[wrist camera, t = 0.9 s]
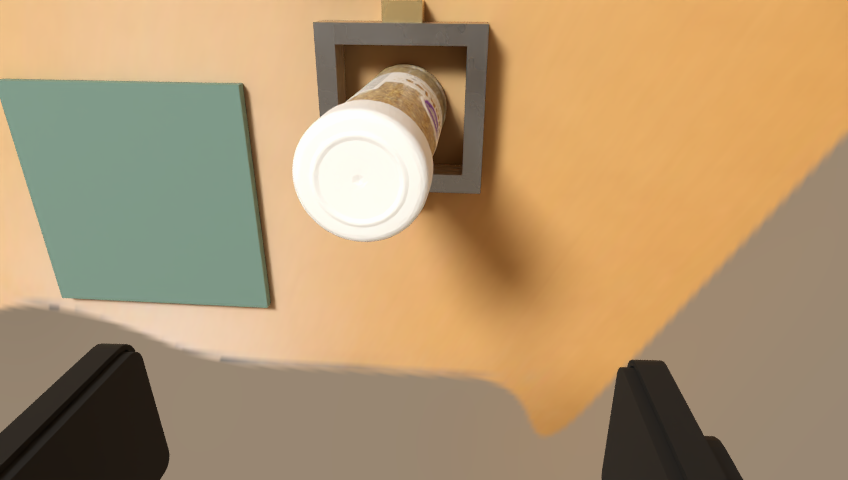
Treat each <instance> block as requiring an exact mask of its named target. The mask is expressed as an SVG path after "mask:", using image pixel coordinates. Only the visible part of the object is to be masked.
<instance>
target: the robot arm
mask: <svg viewBox="0 0 848 480" xmlns="http://www.w3.org/2000/svg"><path fill="white" fill-rule="evenodd" d="M168 463H169V450H168V446H167V443H166V439H165V436H164V432H163V428H162V425H161V421H160V418H159V414H158V411H157V407H156V404H155V401H154V397H153V393H152V390H151V386H150V383H149V379H148V376H147V372H146V369H145V365H144V361H143V358H142V356H141V354H140V353H138V352H135V350H134V348H133V347H132V346H130V345H127V344H98V345H96V346H95V347H93V348H92V349H91V350H90V351H89V352H88V353H87V354H86V355H84V357H82V358H81V359H80V360H79V361H78V362H77V363H76V364H75V365H74V366H73V367H72V368H70V369H69V370H68V371H67V372H66V373H65V374H64V375H63V376H62V377H61V378H60V379H58V380H57V381H56V382H55V383H54V384H53V385H52V386H51V387H50V388H49V389H48V390H47V391H46V392H44V393H43V394H42V395H41V396H40V397H39V398H38V399H37V400H36V401H35V402H34V403H33V404H31V405H30V406H29V407H28V408H27V409H26V410H25V411H24V412H23V413H22V414H21V415H19V416H18V417H17V418H16V419H15V420H14V421H13V422H12V423H11V424H10V425H9V426H8V427H6V429H4V430H3V431H2V432H1V433H0V480H160V479H161V477H162V476H163V474H164V473H165V471H166V469H167V466H168ZM602 480H743V479H742V477H741V476H740V473H739V472H738V470H737V468H736V466H735V465H734V463H733V461H732V459H731V458H730V456H729V454H728V452H727V450H726V449H725V447H724V446H723V444H722V443H721V441H720V440H719V439H717V438H716V437H713V436H704V435H703V433H702V431H701V429H700V428H699V426H698V424H697V422H696V420H695V418H694V416H693V414H692V413H691V411H690V409H689V407H688V405H687V403H686V401H685V399H684V398H683V396H682V394H681V392H680V390H679V388H678V386H677V384H676V382H675V381H674V379H673V377H672V375H671V374H670V371H669V369H668V368H667V366H666V364H665V363H664V362H663V361H656V360H630V361H629V363H628V366H627V367H620V368H619V369H618V372H617V378H616V384H615V391H614V397H613V404H612V410H611V416H610V424H609V429H608V436H607V443H606V449H605V456H604V462H603V468H602Z"/></svg>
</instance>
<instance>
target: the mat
mask: <svg viewBox="0 0 848 480" xmlns="http://www.w3.org/2000/svg"><path fill="white" fill-rule="evenodd" d="M0 99H1V103H2V106H3V109H4V112H5V115H6V119H7V122H8V125H9V128H10V132H11V135H12V138H13V141H14V144H15V148H16V151H17V154H18V157H19V160H20V164H21V167H22V170H23V173H24V177H25V180H26V183H27V186H28V189H29V193H30V196H31V199H32V202H33V205H34V209H35V212H36V215H37V218H38V222H39V225H40V228H41V231H42V234H43V238H44V241H45V244H46V247H47V250H48V254H49V257H50V260H51V263H52V267H53V270H54V273H55V276H56V279H57V283H58V286H59V289H60V292H61V295H62V298H77V299H97V300H118V301H138V302H159V303H179V304H199V305H220V306H240V307H261V308H268V307H269V305H270V303H271V301H270V293H269V285H268V277H267V270H266V262H265V254H264V246H263V238H262V231H261V223H260V215H259V207H258V199H257V192H256V184H255V176H254V168H253V160H252V152H251V145H250V137H249V129H248V121H247V113H246V106H245V98H244V90H243V83H192V82H139V81H87V80H34V79H0Z"/></svg>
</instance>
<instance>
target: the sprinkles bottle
mask: <svg viewBox="0 0 848 480" xmlns="http://www.w3.org/2000/svg"><path fill="white" fill-rule="evenodd" d="M446 112H447V105H446V96H445V94H444V90H443V88H442V86H441V85H440V83H439V82H438V81H437V79H436V78H435V77H434V76H433V75H432V74H430V73H429V72H428V71H426V70H425V69H423V68H422V67H418V66H415V65H410V64H399V65H395V66H391V67H388V68H385V69H384V70H383V71H382V72H381V73H379V74H378V75H376V76H375V78H374V79H373V80H372V81H370V82H369V83H368V84H367V85H366V86H364V87H363V88H362V89H361V90H360V91H359V92H357V93H356V94H355V95H354V96H352V97H351V98H350V99H349V100H347V101H346V102H345V103H343V104H340V105H337V106H335V107H334V108H332V109H330V110H329V111H327V112H326V113H325V114H324V115H322V116H321V117H320V118H319V119H317V120H316V121H315V122H314V123H313V124H312V125H311V126H310V127H309V128H308V129H307V131H306V132H305V133H304V135H303V136H302V138H301V140H300V141H299V144H298V146H297V148H296V151H295V155H294V159H293V168H292V169H293V181H294V187H295V190H296V193H297V196H298V198H299V200H300V203H301V204H302V206H303V208H304V209H305V210H306V212H307V213H308V214H309V216H310V217H311V218H312V219H313V220H314V221H315V222H316V223H317V224H318V225H320V226H321V227H322V228H324V229H325V230H327V231H328V232H330V233H332V234H334V235H336V236H338V237H341V238H344V239H348V240H352V241H359V242H372V241H379V240H383V239H387V238H390V237H392V236H394V235H396V234H398V233H400V232H401V231H403V230H404V229H406V228H407V227H408V226H409V225H410V224H411V223H412V222H413V221H414V220H415V219H416V218H417V216H418V215H419V213H420V212H421V210H422V209H423V207H424V205H425V202H426V199H427V196H428V193H429V190H430V187H431V182H432V177H433V158H432V157H433V154H434V152H435V150H436V147H437V144H438V140H439V136H440V133H441V128H442V126H443V124H444V122H445V117H446Z"/></svg>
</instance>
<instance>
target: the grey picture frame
mask: <svg viewBox="0 0 848 480" xmlns="http://www.w3.org/2000/svg"><path fill="white" fill-rule="evenodd" d="M381 3H382V21H318V22H313V27H314V41H315V55H316V69H317V83H318V96H319V110H320V117H321V116H322V115H324V114H325V113H326V112H327V111H329V110H330V109H332V108H334V107H335V106H337V105H340V104H343V103H345V102H346V101H347V100H346V81H345V62H344V45H418V46H467V63H466V90H465V117H464V143H463V165H454V164H433V177H432V182H431V187H430V190H429V192H443V193H473V194H480V188H481V169H482V150H483V131H484V112H485V93H486V73H487V54H488V35H489V23H488V22H424V0H381Z"/></svg>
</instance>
